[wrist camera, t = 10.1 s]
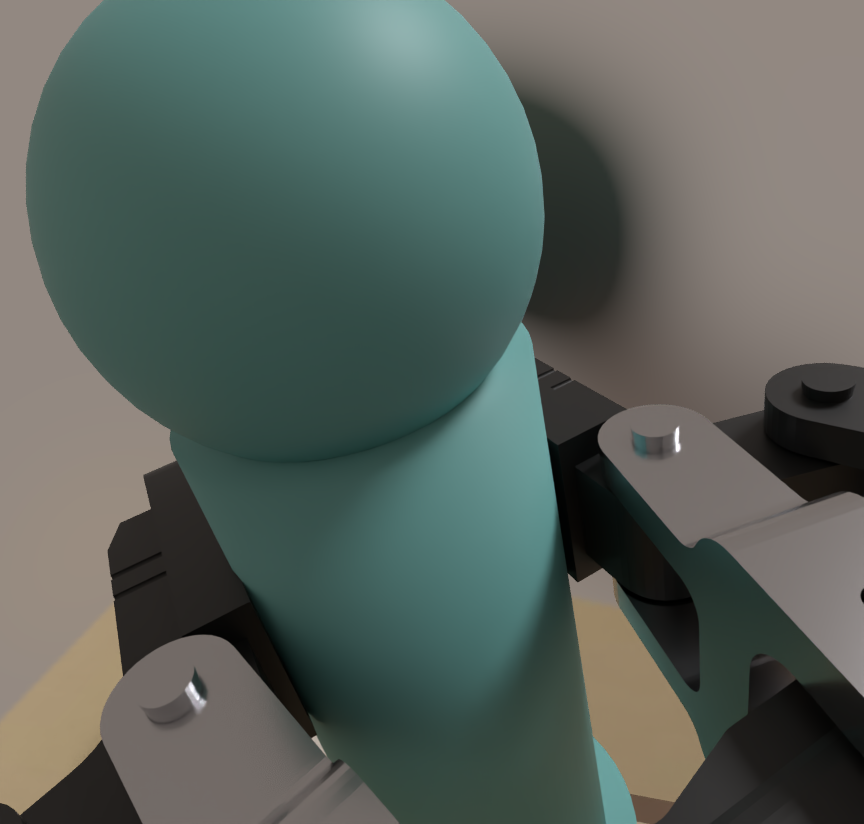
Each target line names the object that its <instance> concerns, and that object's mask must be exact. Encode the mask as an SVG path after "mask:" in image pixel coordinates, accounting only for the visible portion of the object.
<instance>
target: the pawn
mask: <svg viewBox="0 0 864 824" xmlns="http://www.w3.org/2000/svg"><path fill="white" fill-rule="evenodd" d="M26 205H27V212H28V218H29V226H30V232H31V239H32V244H33V247H34V250H35V254H36V257H37V261H38V264H39V267H40V271H41V274H42V278H43V281H44V284H45V287H46V288H47V291H48V293H49V295H50V297H51V299H52V302H53V304H54V306H55V308H56V310H57V313H58V315H59V317H60V319H61V321H62V322H63V324H64V325H65V327H66V328H67V330H68V332H69V333H70V334H71V337H72V338H73V340H74V341H75V343H76V344H77V346H78V348H79V349H80V350H81V352H82V353H83V354H84V355H85V356H86V357H87V359H88V360H89V361H90V362H91V363H92V364H93V366H94V367H95V368H96V369H97V370H98V372H99V373H100V374H101V375H102V376H103V377H104V378H105V379H106V380H107V381H108V382H109V383H110V384H111V385H112V386H113V387H114V388H115V389H116V390H117V391H118V392H119V393H121V394H122V395H123V396H124V397H125V398H126V399H127V400H128V401H130V402H131V403H132V404H133V405H134V406H135V407H136V408H138V409H139V410H141V411H142V412H144V413H145V414H147V415H148V416H150V417H151V418H153V419H154V420H156V421H157V422H159V423H160V424H162V425H163V426H165V427H167V428H169V429H170V430H171V432H170V443H171V449H172V451H173V454H174V456H175V458H176V460H177V462H178V464H179V466H180V468H181V470H182V472H183V474H184V475H185V477H186V479H187V481H188V483H189V485H190V487H191V489H192V491H193V493H194V495H195V497H196V499H197V501H198V503H199V505H200V507H201V509H202V511H203V513H204V515H205V517H206V519H207V521H208V523H209V525H210V527H211V529H212V531H213V533H214V535H215V537H216V539H217V541H218V543H219V545H220V547H221V549H222V550H223V552H224V554H225V556H226V558H227V560H228V562H229V564H230V566H231V568H232V570H233V571H234V572H235V573H236V575H237V576H238V577H239V578H240V579H241V581H242V582H243V584H244V586H245V588H246V590H247V592H248V594H249V596H250V598H251V600H252V602H253V604H254V606H255V608H256V610H257V612H258V614H259V616H260V618H261V620H262V622H263V624H264V626H265V628H266V630H267V632H268V634H269V636H270V638H271V640H272V642H273V644H274V646H275V648H276V650H277V652H278V654H279V656H280V658H281V660H282V662H283V664H284V666H285V668H286V670H287V672H288V674H289V676H290V678H291V680H292V682H293V684H294V686H295V688H296V690H297V692H298V694H299V696H300V698H301V700H302V702H303V704H304V706H305V707H306V709H307V711H308V714H309V716H310V719H311V721H312V723H313V726H314V728H315V731H316V733H317V735H316V736H317V738H318V740H319V742H320V744H321V746H322V748H323V750H324V752H325V754H326V756H327V757H328V758H329V759H330V760H331V761H332V762H333V763H334V762H335V761H336V760H338V759H340V760H342V761H343V762H345V763H346V764H347V765H348V766H349V767H350V768H351V769H352V770H353V771H354V772H355V773H356V774H357V775H358V776H359V777H360V778H361V779H362V781H363V782H364V783H365V784H366V785H367V786H368V787H369V789H370V790H371V791H372V792H373V793H374V794H375V795H376V797H377V798H378V799H379V800H380V801H381V802H382V804H383V805H384V806H385V807H386V808H387V809H388V810H389V812H390V813H391V814H392V815H393V816H394V817H395V818H396V820H397V821H398V822H399V823H400V824H637V821H636V815H635V811H634V807H633V803H632V800H631V796H630V794H629V791H628V789H627V786H626V784H625V781H624V779H623V777H622V775H621V773H620V772H619V770H618V768H617V766H616V764H615V763H614V761H613V760H612V759H611V757H610V756H609V755H608V753H607V752H606V750H605V749H604V748H603V747H602V746H601V745H600V744H599V743H598V742H597V740H596V739H595V738H594V737H593V735H592V728H591V722H590V715H589V709H588V702H587V696H586V689H585V683H584V676H583V670H582V663H581V657H580V650H579V644H578V637H577V631H576V624H575V618H574V611H573V605H572V598H571V592H570V585H569V579H568V573H567V566H566V560H565V553H564V547H563V540H562V534H561V527H560V521H559V514H558V508H557V501H556V495H555V488H554V482H553V475H552V469H551V462H550V456H549V449H548V443H547V436H546V430H545V423H544V417H543V410H542V404H541V397H540V391H539V384H538V378H537V371H536V365H535V358H534V352H533V346H532V341H531V338H530V335H529V333H528V331H527V330H526V328H525V326H524V325H523V324H522V323H521V321H522V319H523V316H524V313H525V311H526V308H527V305H528V303H529V300H530V297H531V294H532V291H533V288H534V284H535V281H536V276H537V272H538V267H539V262H540V258H541V252H542V244H543V230H544V204H543V188H542V176H541V171H540V165H539V161H538V156H537V150H536V145H535V141H534V138H533V135H532V132H531V129H530V126H529V123H528V120H527V117H526V114H525V111H524V108H523V106H522V104H521V102H520V100H519V98H518V96H517V94H516V92H515V90H514V88H513V86H512V84H511V82H510V80H509V78H508V75H507V74H506V72H505V71H504V69H503V68H502V66H501V65H500V63H499V62H498V60H497V59H496V57H495V56H494V54H493V53H492V51H491V50H490V48H489V47H488V45H487V44H486V43H485V41H484V40H483V39H482V38H481V37H480V36H479V35H478V33H477V32H476V31H475V30H474V29H473V28H472V27H471V26H470V24H469V23H468V22H467V21H466V20H465V19H464V18H463V16H462V15H461V14H460V13H458V12H457V11H456V10H455V9H454V8H453V7H452V6H450V5H449V4H448V3H447V2H446V1H445V0H104V1H103V2H102V3H101V4H100V5H99V6H98V7H97V8H96V9H95V10H94V11H93V12H92V13H91V14H90V15H89V16H88V17H87V18H86V19H85V20H84V21H83V22H82V24H81V25H80V27H79V28H78V29H77V31H76V32H75V33H74V35H73V36H72V38H71V39H70V41H69V42H68V43H67V45H66V46H65V48H64V49H63V50H62V52H61V54H60V56H59V58H58V60H57V62H56V64H55V66H54V68H53V70H52V72H51V74H50V76H49V78H48V80H47V82H46V84H45V86H44V88H43V92H42V95H41V98H40V101H39V104H38V108H37V111H36V114H35V117H34V120H33V124H32V129H31V136H30V142H29V149H28V156H27V162H26Z"/></svg>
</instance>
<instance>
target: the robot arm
mask: <svg viewBox="0 0 864 824" xmlns="http://www.w3.org/2000/svg"><path fill="white" fill-rule="evenodd" d="M535 365H536V371H537V378H538V384H539V391H540V397H541V404H542V410H543V417H544V423H545V430H546V436H547V443H548V449H549V456H550V462H551V469H552V475H553V482H554V488H555V495H556V501H557V508H558V514H559V521H560V527H561V534H562V540H563V547H564V553H565V560H566V566H567V573H568V574H570V575H571V576H572V577H573V578H574V579H575V580H576V581H577V582H579V581H581V580H583V579H584V578H586V577H588V576H589V575H591V574H593V573H595V572H596V571H598V570H600V569H601V568H603V569H605V570H606V571H607V572H608V573H609V574H610V575H611V576H612V577H613V586H614V595H615V598H616V601H617V603H618V605H619V607H620V609H621V610H622V612H623V613H624V615H625V616H626V618H627V619H628V621H629V622H630V624H631V626H632V627H633V629H634V630H635V632H636V633H637V635H638V636H639V638H640V639H641V641H642V642H643V644H644V646H645V647H646V649H647V650H648V652H649V653H650V655H651V656H652V658H653V659H654V661H655V662H656V664H657V666H658V667H659V669H660V670H661V672H662V673H663V675H664V676H665V678H666V679H667V681H668V683H669V684H670V686H671V687H672V689H673V690H674V692H675V693H676V695H677V696H678V698H679V699H680V701H681V703H682V704H683V706H684V707H685V709H686V710H687V712H688V714H689V716H690V718H691V720H692V722H693V724H694V727H695V729H696V732H697V734H698V737H699V741H700V744H701V748H702V751H703V754H704V756H705V761H704V762H703V764H702V765H701V766H700V768H699V769H698V771H697V772H696V774H695V775H694V776H693V778H692V779H691V781H690V782H689V783H688V785H687V786H686V788H685V789H684V790H683V792H682V793H681V795H680V796H679V797H678V799H677V800H676V802H675V803H674V804H673V806H672V807H671V809H670V810H669V811H668V813H667V814H666V815H665V816H664V817H663V818H662V819H661V820H659V821H658V822H657V823H655V824H864V368H862V367H856V366H850V365H842V364H833V363H832V364H831V363H816V364H805V365H800V366H795V367H792V368H788V369H786V370H783V371H781V372H779V373H777V374H776V375H774V376H773V377H772V378H771V379H770V380H769V381H768V383H767V384H766V388H765V402H764V410H763V411H759V412H756V413H752V414H748V415H743V416H740V417H736V418H732V419H728V420H724V421H720V422H716V423H711V422H710V421H709V420H708V419H707V418H705V417H704V416H702V415H701V414H699V413H697V412H695V411H693V410H690V409H687V408H684V407H679V406H674V405H664V404H661V405H660V404H659V405H658V404H655V405H644V406H638V407H634V408H630V409H625V408H624V407H622V406H620V405H618V404H616V403H615V402H613V401H611V400H609V399H608V398H606V397H604V396H602V395H600V394H599V393H597V392H595V391H593V390H591V389H590V388H588V387H586V386H584V385H582V384H581V383H579V382H577V381H575V380H574V381H571V379H570V377H568V376H566V375H565V374H563V373H561V372H559V371H554V369H553V368H552V367H550V366H549V365H547V364H545V363H543V362H541V361H540V360H538V359H536V358H535ZM144 481H145V485H146V489H147V494H148V498H149V502H150V506H151V509H150V510H148V511H146V512H144V513H142V514H140V515H137V516H135V517H133V518H130V519H128V520H126V521H124V522H121V523H120V525H119V527H118V529H117V531H116V533H115V536H114V538H113V540H112V542H111V544H110V547H109V549H108V558H109V566H110V574H111V577H112V579H113V580H111V582H112V590H113V596H114V598H115V601H114V607H115V615H116V623H117V631H118V639H119V647H120V655H121V663H122V671H123V677H122V679H121V680H120V681H119V682H118V683H117V685H116V686H115V688H114V689H113V691H112V692H111V694H110V696H109V698H108V700H107V702H106V704H105V706H104V709H103V712H102V716H101V722H100V733H101V737H102V740H101V741H100V743H99V744H98V745H97V747H96V748H95V749H94V750H93V751H92V752H91V753H90V755H89V756H88V757H87V758H86V759H85V760H84V761H83V762H82V763H81V764H80V765H79V766H78V767H76V768H75V769H74V770H73V771H72V772H71V773H70V774H69V775H67V776H66V777H65V778H64V779H63V780H61V781H60V782H59V783H58V784H57V785H56V786H54V787H53V788H52V789H51V790H50V791H48V792H47V793H46V794H45V795H44V796H42V797H41V798H40V799H39V800H38V801H36V802H35V803H34V804H33V805H32V806H31V807H29V808H28V809H27V810H26V811H25V812H23V813H22V814H21V815H19V814H18V813H17V812H16V811H15V810H14V809H12V808H11V807H9V806H8V805H5V804H2V803H0V824H400V823H399V822H398V821H397V820H396V818H395V817H394V816H393V815H392V814H391V813H390V812H389V810H388V809H387V808H386V807H385V806H384V805H383V804H382V802H381V801H380V800H379V799H378V798H377V797H376V795H375V794H374V793H373V792H372V791H371V790H370V789H369V787H368V786H367V785H366V784H365V783H364V782H363V781H362V779H361V778H360V777H359V776H358V775H357V774H356V773H355V772H354V771H353V770H352V769H351V768H350V767H349V766H348V765H347V764H346V763H345V762H343V761H342V760H340V759H338V760H336V761H335V762H334V763H333V762H332V761H331V760H330V759H329V758H328V757H327V756H326V755H325V754H324V753H323V752H322V750H321V749H320V748H319V747H318V746H317V745H316V743H315V742H314V741H313V740H312V739H311V738H313V737H314V736H316V735H317V733H316V731H315V728H314V726H313V723H312V721H311V719H310V716H309V714H308V711H307V709H306V707H305V706H304V704H303V702H302V700H301V698H300V696H299V694H298V692H297V690H296V688H295V686H294V684H293V682H292V680H291V678H290V676H289V674H288V672H287V670H286V668H285V666H284V664H283V662H282V660H281V658H280V656H279V654H278V652H277V650H276V648H275V646H274V644H273V642H272V640H271V638H270V636H269V634H268V632H267V630H266V628H265V626H264V624H263V622H262V620H261V618H260V616H259V614H258V612H257V610H256V608H255V606H254V604H253V602H252V600H251V598H250V596H249V594H248V592H247V590H246V588H245V586H244V584H243V582H242V581H241V579H240V578H239V577H238V576H237V575H236V573H235V572H234V571H233V570H232V568H231V566H230V564H229V562H228V560H227V558H226V556H225V554H224V552H223V550H222V549H221V547H220V545H219V543H218V541H217V539H216V537H215V535H214V533H213V531H212V529H211V527H210V525H209V523H208V521H207V519H206V517H205V515H204V513H203V511H202V509H201V507H200V505H199V503H198V501H197V499H196V497H195V495H194V493H193V491H192V489H191V487H190V485H189V483H188V481H187V479H186V477H185V475H184V474H183V472H182V470H181V468H180V466H179V464H178V462H177V461H175V462H173V463H170V464H168V465H165V466H163V467H161V468H159V469H156V470H154V471H152V472H149V473H147V474H145V475H144Z"/></svg>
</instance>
